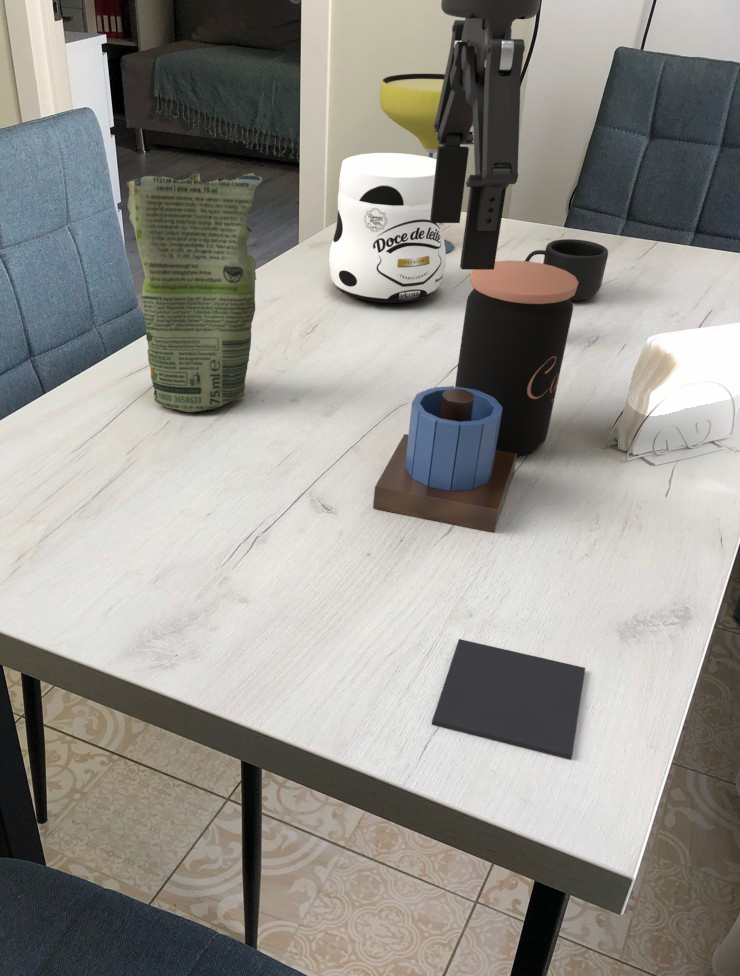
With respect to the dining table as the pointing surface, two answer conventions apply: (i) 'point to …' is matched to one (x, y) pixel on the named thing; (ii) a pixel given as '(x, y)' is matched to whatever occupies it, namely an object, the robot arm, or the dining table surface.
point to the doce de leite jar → (387, 229)
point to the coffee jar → (517, 345)
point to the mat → (511, 698)
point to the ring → (452, 442)
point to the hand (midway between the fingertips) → (459, 244)
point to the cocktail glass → (414, 108)
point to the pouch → (196, 286)
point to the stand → (443, 505)
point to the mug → (577, 263)
